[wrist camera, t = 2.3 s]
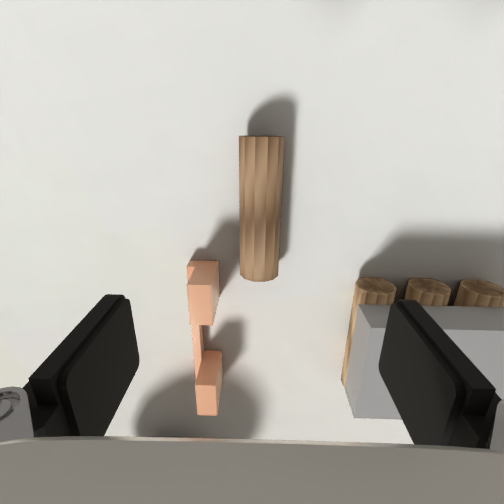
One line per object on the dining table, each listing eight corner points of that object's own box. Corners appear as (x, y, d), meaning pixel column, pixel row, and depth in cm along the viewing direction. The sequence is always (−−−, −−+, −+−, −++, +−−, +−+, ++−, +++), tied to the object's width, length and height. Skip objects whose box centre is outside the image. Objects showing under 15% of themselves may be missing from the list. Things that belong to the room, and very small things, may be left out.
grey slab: (358, 304, 28) (370, 327, 24) (516, 307, 27) (550, 331, 24) (344, 387, 31) (354, 417, 28) (482, 391, 31) (508, 422, 28)
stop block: (190, 260, 30) (177, 284, 25) (218, 260, 30) (210, 285, 25) (198, 377, 36) (189, 414, 31) (222, 378, 36) (216, 415, 31)
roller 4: (453, 278, 30) (476, 296, 27) (489, 279, 30) (516, 297, 27) (425, 372, 35) (442, 398, 32) (456, 373, 35) (477, 399, 32)
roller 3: (402, 277, 30) (419, 294, 27) (437, 277, 30) (458, 295, 27) (381, 370, 35) (394, 395, 32) (412, 371, 35) (428, 396, 32)
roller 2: (352, 276, 30) (362, 294, 27) (387, 277, 30) (402, 295, 27) (338, 370, 35) (346, 395, 32) (368, 371, 35) (380, 396, 32)
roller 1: (240, 135, 26) (238, 136, 23) (282, 135, 26) (285, 137, 23) (241, 264, 30) (239, 281, 27) (276, 265, 30) (278, 282, 27)
